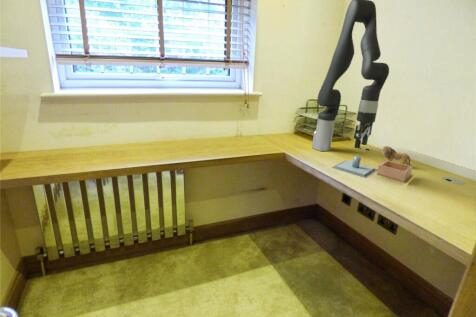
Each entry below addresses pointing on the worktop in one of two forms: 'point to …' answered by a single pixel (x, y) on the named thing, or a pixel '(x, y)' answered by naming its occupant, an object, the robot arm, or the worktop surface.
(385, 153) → the lion figurine
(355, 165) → the lid
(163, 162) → the worktop surface
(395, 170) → the dish
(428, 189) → the worktop surface
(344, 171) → the mat
